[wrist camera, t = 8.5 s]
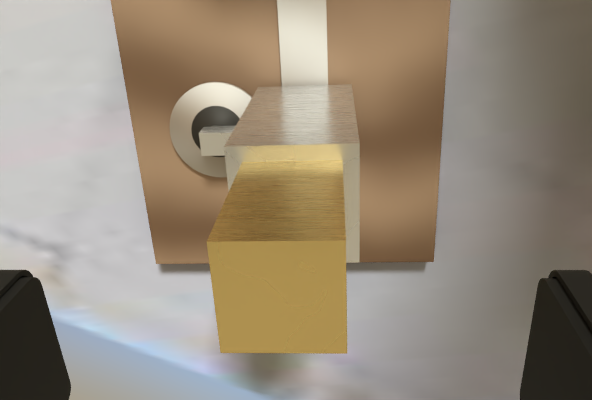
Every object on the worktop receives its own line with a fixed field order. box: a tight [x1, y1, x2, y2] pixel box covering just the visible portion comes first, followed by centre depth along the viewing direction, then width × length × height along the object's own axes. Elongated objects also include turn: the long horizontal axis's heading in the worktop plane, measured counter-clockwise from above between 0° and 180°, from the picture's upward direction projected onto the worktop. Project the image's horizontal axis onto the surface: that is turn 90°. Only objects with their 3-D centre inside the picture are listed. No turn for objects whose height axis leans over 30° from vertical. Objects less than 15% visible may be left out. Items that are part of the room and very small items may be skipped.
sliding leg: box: [199, 84, 360, 353], centre depth 18 cm, size 4×6×13 cm, turn 93°
